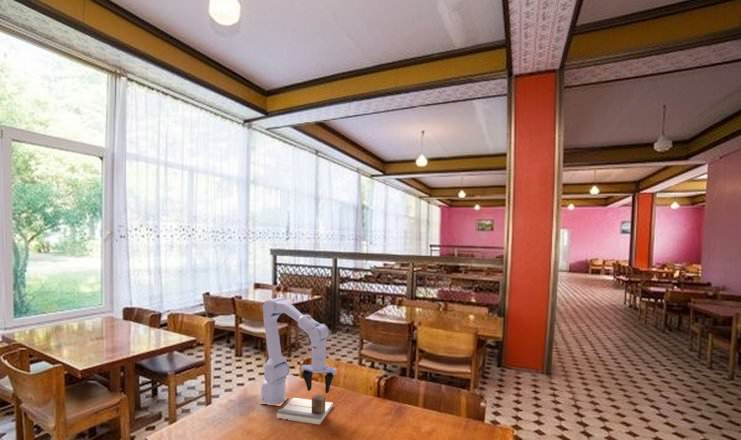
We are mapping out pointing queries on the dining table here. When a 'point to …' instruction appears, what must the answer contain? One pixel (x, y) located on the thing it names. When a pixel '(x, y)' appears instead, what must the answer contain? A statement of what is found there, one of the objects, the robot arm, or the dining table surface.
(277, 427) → the dining table surface
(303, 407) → the board
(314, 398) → the block
